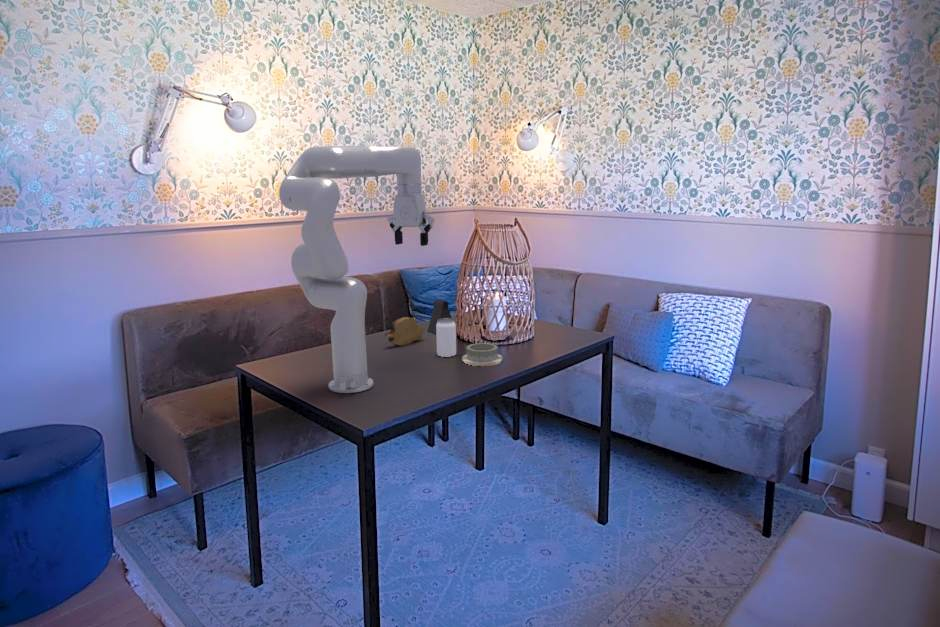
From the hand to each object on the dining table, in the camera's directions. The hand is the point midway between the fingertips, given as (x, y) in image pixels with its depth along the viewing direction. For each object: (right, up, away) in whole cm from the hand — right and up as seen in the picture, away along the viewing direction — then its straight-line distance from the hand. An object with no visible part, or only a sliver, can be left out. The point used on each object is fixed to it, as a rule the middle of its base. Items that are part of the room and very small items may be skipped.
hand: (411, 244), depth 202 cm
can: (+11, -36, +10) cm, 39 cm away
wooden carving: (-5, -33, +24) cm, 41 cm away
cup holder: (+22, -37, +3) cm, 43 cm away
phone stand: (+8, -29, +42) cm, 52 cm away
